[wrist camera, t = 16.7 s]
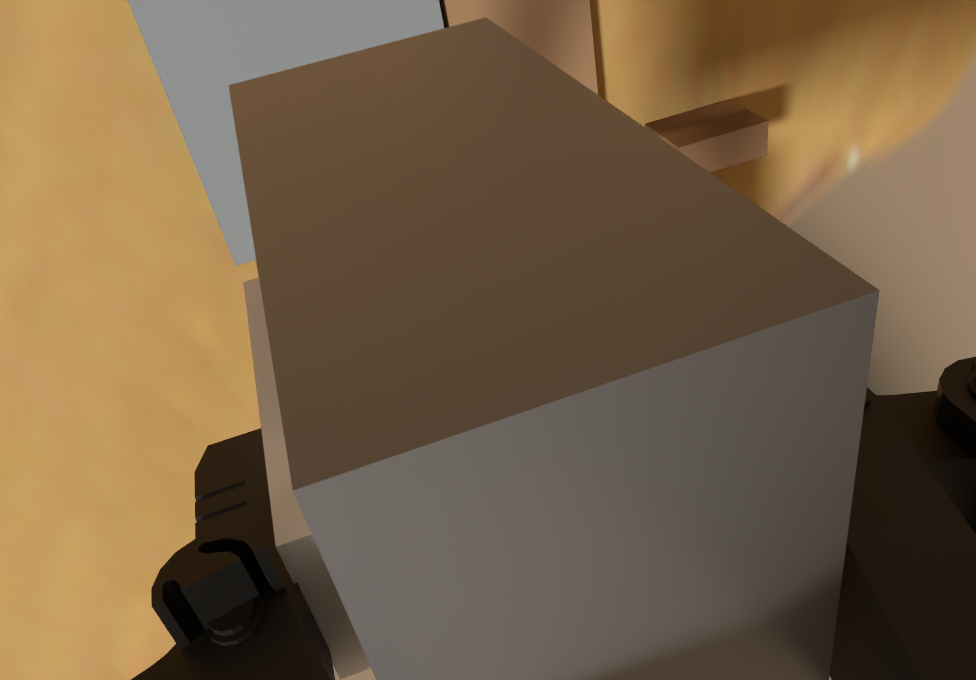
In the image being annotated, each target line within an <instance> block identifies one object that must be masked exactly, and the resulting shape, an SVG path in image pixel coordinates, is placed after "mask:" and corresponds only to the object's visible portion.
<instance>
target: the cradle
mask: <svg viewBox="0 0 976 680" xmlns="http://www.w3.org/2000/svg"><path fill="white" fill-rule="evenodd" d="M441 3H442V8H443V13H444V18H445V23H446V28H447V27H451V26H455V25H459V24H462V23H466V22H470V21H474V20H478V19H481V18H485V17H486V18H488V19H489V20H491V21H492V22H494V23H495V24H496V25H498V26H499V27H501V28H502V29H504V30H505V31H507V32H508V33H509V34H511V35H512V36H514V37H515V38H517V39H518V40H520V41H521V42H522V43H524V44H525V45H527V46H528V47H530V48H531V49H532V50H534V51H535V52H537V53H538V54H540V55H541V56H543V57H544V58H545V59H547V60H548V61H550V62H551V63H553V64H554V65H556V66H557V67H558V68H560V69H561V70H563V71H564V72H566V73H567V74H568V75H570V76H571V77H573V78H574V79H576V80H577V81H579V82H580V83H581V84H583V85H584V86H586V87H587V88H589V89H590V90H592V91H593V92H594V93H596V94H597V95H598V87H597V77H596V66H595V55H594V44H593V33H592V22H591V11H590V0H441ZM645 128H646V129H648V130H649V131H651V132H652V133H653V134H655V135H656V136H658V137H659V138H661V139H662V140H664V141H665V142H666V143H668V144H669V145H671V146H672V147H674V148H675V149H677V150H678V151H679V152H681V153H682V154H684V155H685V156H687V157H688V158H690V159H691V160H692V161H694V162H695V163H697V164H698V165H700V166H701V167H702V168H704V169H705V170H707V171H708V172H710V173H711V172H714V171H717V170H721V169H724V168H727V167H730V166H734V165H737V164H740V163H743V162H747V161H750V160H753V159H756V158H760V157H763V156H766V155H767V140H768V121H767V120H765V119H763V118H762V117H760V116H758V115H756V114H754V113H752V112H750V111H749V110H747V109H745V108H743V107H741V106H739V105H737V104H736V103H734V102H732V101H730V100H727V101H723V102H720V103H717V104H713V105H710V106H706V107H703V108H699V109H696V110H693V111H689V112H686V113H682V114H679V115H676V116H672V117H669V118H665V119H662V120H658V121H655V122H652V123H648V124H645Z"/></svg>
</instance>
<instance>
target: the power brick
mask: <svg viewBox="0 0 976 680" xmlns="http://www.w3.org/2000/svg"><path fill="white" fill-rule="evenodd" d="M229 92H230V98H231V104H232V111H233V117H234V123H235V130H236V136H237V142H238V148H239V155H240V161H241V167H242V174H243V180H244V186H245V193H246V199H247V205H248V212H249V218H250V224H251V230H252V237H253V243H254V249H255V256H256V262H257V268H258V275H259V281H260V287H261V294H262V300H263V306H264V312H265V319H266V325H267V331H268V338H269V344H270V350H271V357H272V363H273V369H274V376H275V382H276V388H277V394H278V401H279V407H280V413H281V420H282V426H283V432H284V439H285V445H286V451H287V458H288V464H289V470H290V476H291V483H292V489H293V492H294V495H295V497H296V499H297V501H298V504H299V506H300V508H301V511H302V513H303V515H304V517H305V520H306V522H307V524H308V526H309V529H310V531H311V533H312V535H313V538H314V540H315V542H316V544H317V547H318V549H319V551H320V554H321V556H322V558H323V560H324V563H325V565H326V567H327V569H328V572H329V574H330V576H331V578H332V581H333V583H334V585H335V587H336V590H337V592H338V594H339V597H340V599H341V601H342V603H343V606H344V608H345V610H346V612H347V615H348V617H349V619H350V621H351V624H352V626H353V628H354V630H355V633H356V635H357V637H358V640H359V642H360V644H361V646H362V649H363V651H364V653H365V655H366V658H367V660H368V662H369V664H370V667H371V669H372V671H373V673H374V676H375V678H376V680H829V674H830V667H831V659H832V651H833V644H834V636H835V628H836V620H837V613H838V605H839V597H840V590H841V582H842V574H843V567H844V559H845V551H846V543H847V536H848V528H849V520H850V513H851V505H852V497H853V489H854V482H855V474H856V466H857V459H858V451H859V443H860V436H861V428H862V420H863V412H864V405H865V397H866V389H867V381H868V374H869V366H870V358H871V351H872V343H873V335H874V328H875V320H876V312H877V305H878V297H879V290H878V289H877V288H875V287H874V286H872V285H871V284H870V283H868V282H867V281H865V280H864V279H862V278H861V277H859V276H858V275H857V274H855V273H854V272H852V271H851V270H849V269H848V268H846V267H845V266H844V265H842V264H841V263H839V262H838V261H836V260H835V259H834V258H832V257H831V256H829V255H828V254H826V253H825V252H824V251H822V250H821V249H819V248H818V247H816V246H815V245H813V244H812V243H811V242H809V241H808V240H806V239H805V238H803V237H802V236H800V235H799V234H798V233H796V232H795V231H793V230H792V229H790V228H789V227H787V226H786V225H785V224H783V223H782V222H780V221H779V220H777V219H776V218H775V217H773V216H772V215H770V214H769V213H767V212H766V211H764V210H763V209H762V208H760V207H759V206H757V205H756V204H754V203H753V202H751V201H750V200H749V199H747V198H746V197H744V196H743V195H741V194H740V193H739V192H737V191H736V190H734V189H733V188H731V187H730V186H728V185H727V184H726V183H724V182H723V181H721V180H720V179H718V178H717V177H715V176H714V175H713V174H711V173H710V172H708V171H707V170H705V169H704V168H702V167H701V166H700V165H698V164H697V163H695V162H694V161H692V160H691V159H690V158H688V157H687V156H685V155H684V154H682V153H681V152H679V151H678V150H677V149H675V148H674V147H672V146H671V145H669V144H668V143H666V142H665V141H664V140H662V139H661V138H659V137H658V136H656V135H655V134H653V133H652V132H651V131H649V130H648V129H646V128H645V127H643V126H642V125H641V124H639V123H638V122H636V121H635V120H633V119H632V118H630V117H629V116H628V115H626V114H625V113H623V112H622V111H620V110H619V109H617V108H616V107H615V106H613V105H612V104H610V103H609V102H607V101H606V100H605V99H603V98H602V97H600V96H599V95H597V94H596V93H594V92H593V91H592V90H590V89H589V88H587V87H586V86H584V85H583V84H581V83H580V82H579V81H577V80H576V79H574V78H573V77H571V76H570V75H568V74H567V73H566V72H564V71H563V70H561V69H560V68H558V67H557V66H556V65H554V64H553V63H551V62H550V61H548V60H547V59H545V58H544V57H543V56H541V55H540V54H538V53H537V52H535V51H534V50H532V49H531V48H530V47H528V46H527V45H525V44H524V43H522V42H521V41H520V40H518V39H517V38H515V37H514V36H512V35H511V34H509V33H508V32H507V31H505V30H504V29H502V28H501V27H499V26H498V25H496V24H495V23H494V22H492V21H491V20H489V19H488V18H486V17H485V18H481V19H478V20H474V21H470V22H466V23H462V24H459V25H455V26H451V27H447V28H443V29H440V30H436V31H432V32H428V33H424V34H421V35H417V36H413V37H409V38H405V39H402V40H398V41H394V42H390V43H386V44H383V45H379V46H375V47H371V48H367V49H364V50H360V51H356V52H352V53H348V54H345V55H341V56H337V57H333V58H329V59H326V60H322V61H318V62H314V63H310V64H307V65H303V66H299V67H295V68H291V69H288V70H284V71H280V72H276V73H272V74H269V75H265V76H261V77H257V78H253V79H250V80H246V81H242V82H238V83H234V84H231V85H229Z"/></svg>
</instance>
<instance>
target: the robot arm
mask: <svg viewBox="0 0 976 680" xmlns="http://www.w3.org/2000/svg"><path fill="white" fill-rule="evenodd" d="M243 283H244V291H245V299H246V307H247V315H248V324H249V332H250V340H251V348H252V356H253V365H254V373H255V381H256V389H257V397H258V406H259V414H260V422H261V428H260V429H257V430H254V431H251V432H248V433H245V434H242V435H239V436H236V437H233V438H230V439H227V440H224V441H221V442H218V443H214V444H211V445H208V446H207V448H206V450H205V452H204V454H203V456H202V458H201V460H200V462H199V464H198V466H197V468H196V470H195V499H196V502H195V518H196V521H197V523H195V534H196V539H195V540H193V541H192V542H190V543H189V544H187V545H186V546H184V547H183V548H181V549H180V550H178V551H177V552H175V554H174V555H173V556H172V557H171V558H170V559H169V560H168V561H167V563H166V564H165V565H164V566H163V567H162V568H161V569H160V571H159V573H158V575H157V578H156V580H155V582H154V584H153V586H152V607H153V609H154V610H155V612H156V613H157V615H158V616H159V618H160V619H161V621H162V622H163V624H164V625H165V627H166V628H167V630H168V631H169V633H170V634H171V636H172V637H173V639H174V640H175V642H176V644H175V646H174V647H173V648H172V649H171V650H170V651H169V652H168V653H167V654H166V655H165V656H164V657H162V658H161V659H160V660H159V661H157V662H156V663H155V664H153V665H152V666H151V667H149V668H148V669H146V670H145V671H143V672H142V673H140V674H139V675H137V676H136V677H134V678H133V679H131V680H335V676H334V670H333V666H334V668H335V669H336V672H337V674H338V676H339V678H340V679H343V678H346V677H348V676H351V675H354V674H356V673H359V672H362V671H364V670H367V669H370V668H371V667H370V664H369V662H368V660H367V658H366V655H365V653H364V651H363V649H362V646H361V644H360V642H359V640H358V637H357V635H356V633H355V630H354V628H353V626H352V624H351V621H350V619H349V617H348V615H347V612H346V610H345V608H344V606H343V603H342V601H341V599H340V597H339V594H338V592H337V590H336V587H335V585H334V583H333V581H332V578H331V576H330V574H329V572H328V569H327V567H326V565H325V563H324V560H323V558H322V556H321V554H320V551H319V549H318V547H317V544H316V542H315V540H314V538H313V535H312V533H311V531H310V529H309V526H308V524H307V522H306V520H305V517H304V515H303V513H302V511H301V508H300V506H299V504H298V501H297V499H296V497H295V495H294V492H293V489H292V483H291V476H290V470H289V464H288V458H287V451H286V445H285V439H284V432H283V426H282V420H281V413H280V407H279V401H278V394H277V388H276V382H275V376H274V369H273V363H272V357H271V350H270V344H269V338H268V331H267V325H266V319H265V312H264V306H263V300H262V294H261V287H260V281H259V278H256V279H253V280H249V281H246V282H243ZM332 663H333V664H332ZM829 675H830V677H831V679H832V680H976V357H972V358H968V359H963V360H958V361H956V362H955V363H953V364H952V365H950V366H948V367H947V368H945V369H944V372H943V373H942V375H941V377H940V379H939V384H938V389H937V391H931V392H920V393H909V394H899V395H879V396H878V395H875V394H874V393H873V392H872V391H871V390H870V389H869V388H867V389H866V397H865V405H864V412H863V420H862V428H861V436H860V443H859V451H858V459H857V466H856V474H855V482H854V489H853V497H852V505H851V513H850V520H849V528H848V536H847V543H846V551H845V559H844V567H843V574H842V582H841V590H840V597H839V605H838V613H837V620H836V628H835V636H834V644H833V651H832V659H831V667H830V674H829Z"/></svg>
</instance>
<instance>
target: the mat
mask: <svg viewBox="0 0 976 680" xmlns="http://www.w3.org/2000/svg"><path fill="white" fill-rule="evenodd" d="M128 2H129V4H130V7H131V9H132V11H133V14H134V16H135V19H136V21H137V24H138V26H139V29H140V31H141V34H142V36H143V38H144V41H145V43H146V46H147V48H148V51H149V53H150V56H151V58H152V61H153V63H154V66H155V68H156V70H157V73H158V75H159V78H160V80H161V83H162V85H163V88H164V90H165V93H166V95H167V98H168V100H169V102H170V105H171V107H172V110H173V112H174V115H175V117H176V120H177V122H178V125H179V127H180V129H181V132H182V134H183V137H184V139H185V142H186V144H187V147H188V149H189V152H190V154H191V157H192V159H193V161H194V164H195V166H196V169H197V171H198V174H199V176H200V179H201V181H202V184H203V186H204V189H205V191H206V193H207V196H208V198H209V201H210V203H211V206H212V208H213V211H214V213H215V216H216V218H217V220H218V223H219V225H220V228H221V230H222V233H223V235H224V238H225V240H226V243H227V245H228V248H229V250H230V252H231V255H232V257H233V260H234V262H235V265H240V264H243V263H247V262H250V261H253V260H256V256H255V249H254V243H253V237H252V230H251V224H250V218H249V212H248V205H247V199H246V193H245V186H244V180H243V174H242V167H241V161H240V155H239V148H238V142H237V136H236V130H235V123H234V117H233V111H232V104H231V98H230V92H229V85H231V84H234V83H238V82H242V81H246V80H250V79H253V78H257V77H261V76H265V75H269V74H272V73H276V72H280V71H284V70H288V69H291V68H295V67H299V66H303V65H307V64H310V63H314V62H318V61H322V60H326V59H329V58H333V57H337V56H341V55H345V54H348V53H352V52H356V51H360V50H364V49H367V48H371V47H375V46H379V45H383V44H386V43H390V42H394V41H398V40H402V39H405V38H409V37H413V36H417V35H421V34H424V33H428V32H432V31H436V30H440V29H443V28H444V24H443V19H442V14H441V9H440V3H439V0H128Z"/></svg>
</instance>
